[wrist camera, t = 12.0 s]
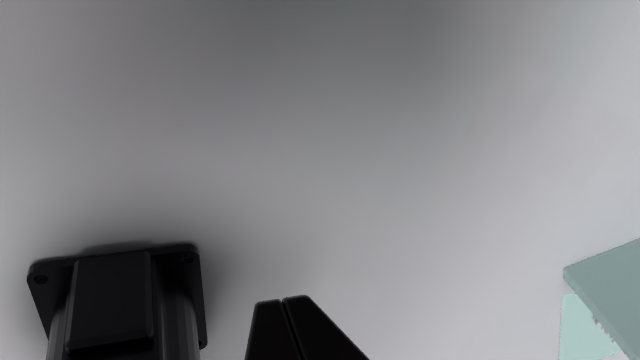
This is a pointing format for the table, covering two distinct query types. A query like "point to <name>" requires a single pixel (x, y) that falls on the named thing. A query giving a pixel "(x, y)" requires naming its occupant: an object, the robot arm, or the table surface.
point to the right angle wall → (602, 306)
